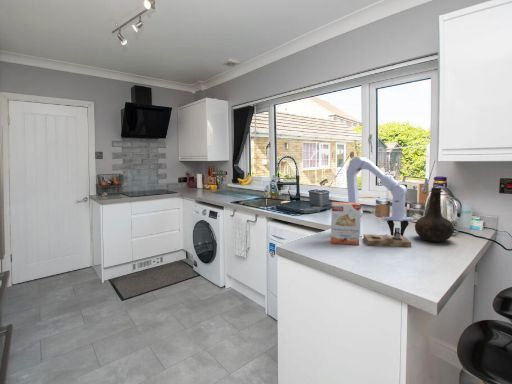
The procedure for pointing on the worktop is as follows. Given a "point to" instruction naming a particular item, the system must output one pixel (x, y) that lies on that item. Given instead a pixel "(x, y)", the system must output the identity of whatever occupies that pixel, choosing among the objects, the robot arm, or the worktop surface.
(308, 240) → the worktop surface
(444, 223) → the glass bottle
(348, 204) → the cracker box
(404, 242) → the block
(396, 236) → the drill bit
